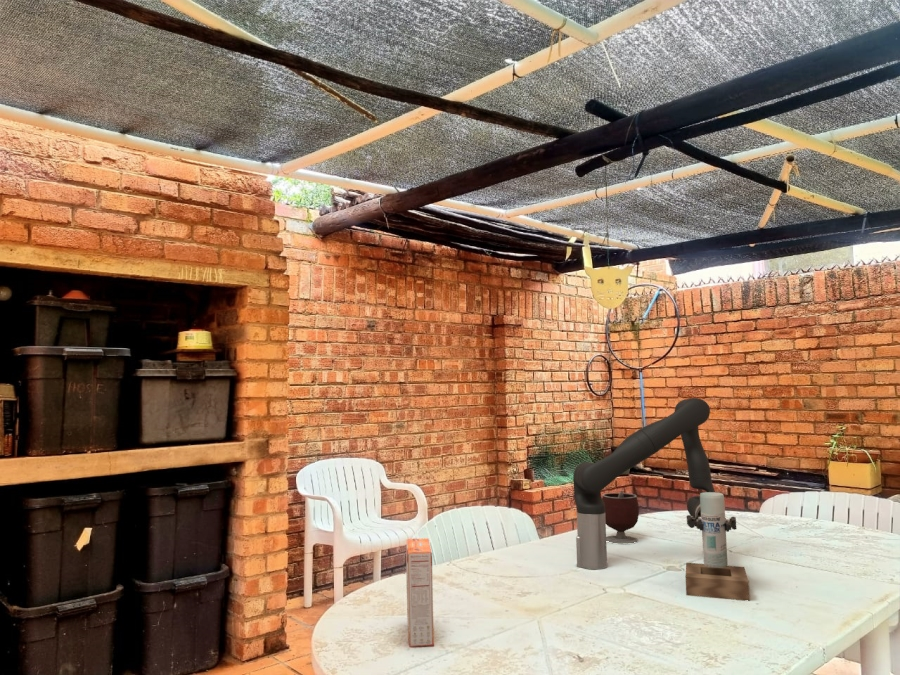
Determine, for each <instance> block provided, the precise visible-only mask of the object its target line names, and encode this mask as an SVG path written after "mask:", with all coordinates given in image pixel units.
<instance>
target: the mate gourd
mask: <svg viewBox="0 0 900 675" xmlns="http://www.w3.org/2000/svg"><path fill="white" fill-rule="evenodd" d="M601 497H602V500H603V502H604V504H605V518H606V527H608V528H611V529H613V530H614V531H616V534H615V535H610V536H606V541H609V542H613V543H634V542H637V541H638V540H639V539H638V538H636V537H634V536H628V535H626V533H625V532H626V531H628V530H630V529H634V528H635V526H636V524H637V523H638V521H639V513H640V512H639V511H640V510H639V508H640V507H639V501H638V500H639V499H638V497H637V495H636V494H633V493H627V492H624V491H623V490H621V491H620V492H607V493H603V494H602V496H601ZM609 542H608V543H609ZM638 542H639V541H638ZM638 542H637V543H638ZM613 543H612V544H613ZM634 544H635V543H634Z"/></svg>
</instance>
